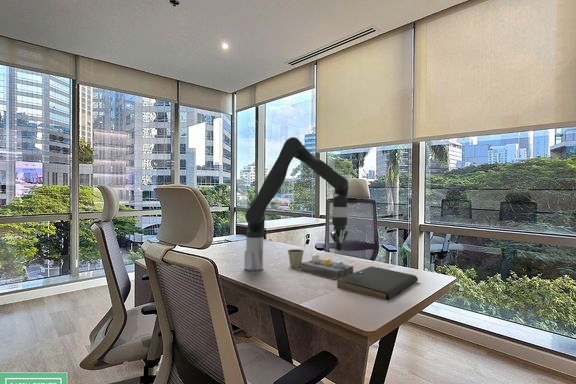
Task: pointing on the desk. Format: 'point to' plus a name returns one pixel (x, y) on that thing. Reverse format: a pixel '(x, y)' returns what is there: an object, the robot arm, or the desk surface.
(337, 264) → the slate button
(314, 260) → the ivory button
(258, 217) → the robot arm
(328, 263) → the amber button
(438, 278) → the desk surface
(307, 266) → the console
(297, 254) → the flower pot
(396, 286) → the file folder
